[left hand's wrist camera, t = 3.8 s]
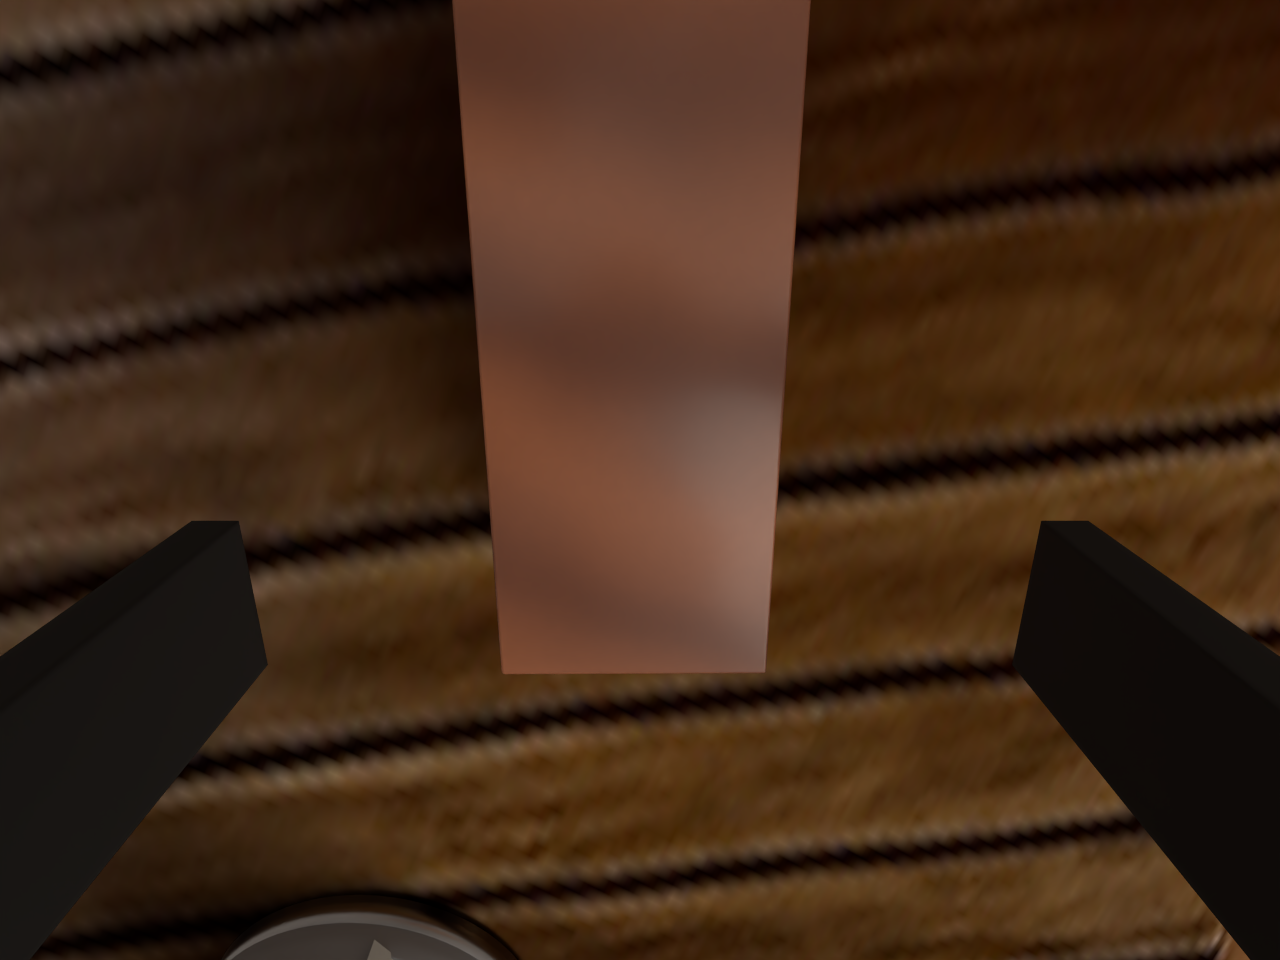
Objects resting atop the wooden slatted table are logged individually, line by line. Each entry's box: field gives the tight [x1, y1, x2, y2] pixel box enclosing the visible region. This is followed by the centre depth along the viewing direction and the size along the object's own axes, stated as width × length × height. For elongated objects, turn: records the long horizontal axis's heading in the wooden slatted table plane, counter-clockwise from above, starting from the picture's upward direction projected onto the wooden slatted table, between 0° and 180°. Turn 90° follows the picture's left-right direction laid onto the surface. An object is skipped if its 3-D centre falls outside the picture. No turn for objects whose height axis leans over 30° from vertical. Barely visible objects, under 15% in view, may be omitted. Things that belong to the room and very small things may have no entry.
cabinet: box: [452, 0, 811, 674], centre depth 20 cm, size 17×7×9 cm, turn 0°
